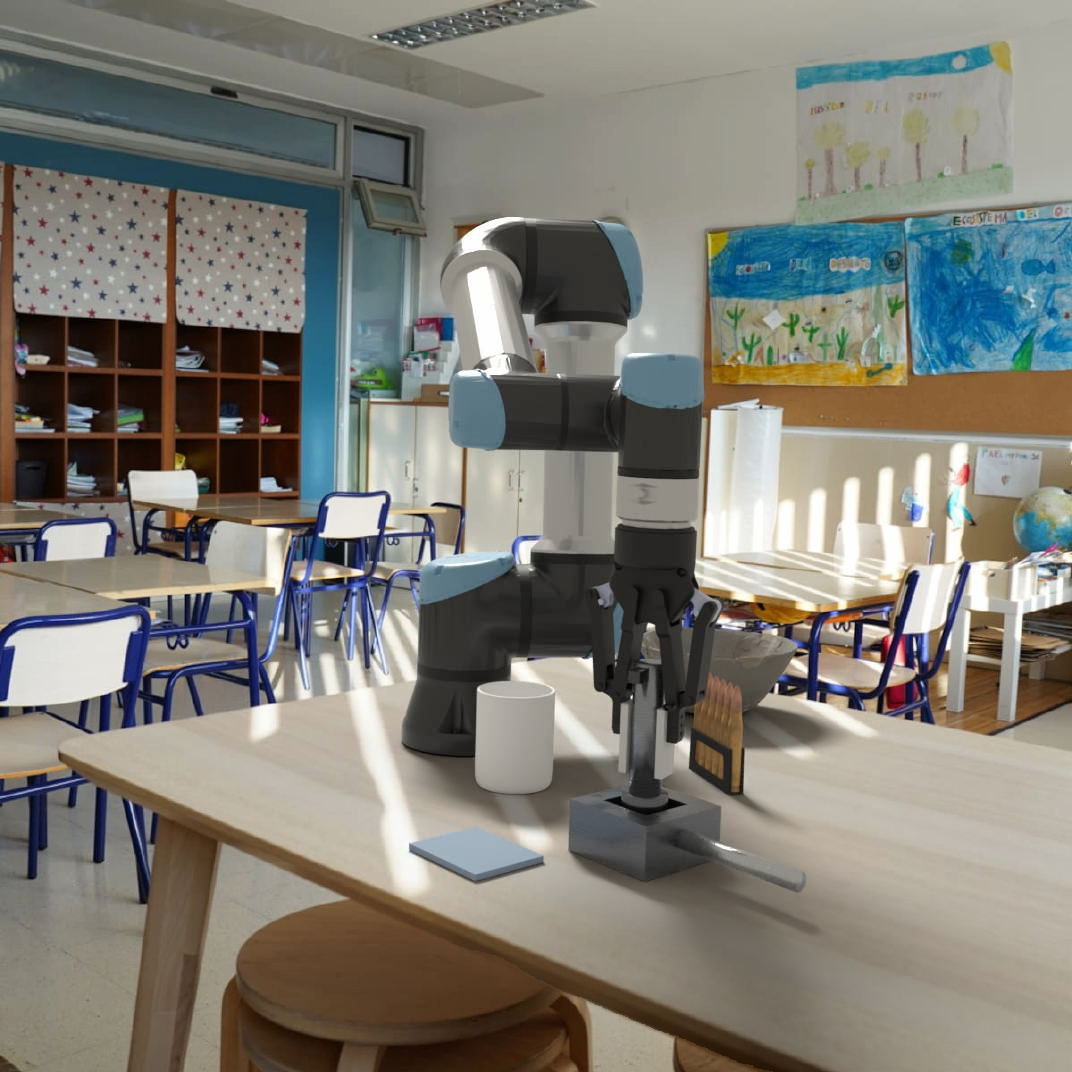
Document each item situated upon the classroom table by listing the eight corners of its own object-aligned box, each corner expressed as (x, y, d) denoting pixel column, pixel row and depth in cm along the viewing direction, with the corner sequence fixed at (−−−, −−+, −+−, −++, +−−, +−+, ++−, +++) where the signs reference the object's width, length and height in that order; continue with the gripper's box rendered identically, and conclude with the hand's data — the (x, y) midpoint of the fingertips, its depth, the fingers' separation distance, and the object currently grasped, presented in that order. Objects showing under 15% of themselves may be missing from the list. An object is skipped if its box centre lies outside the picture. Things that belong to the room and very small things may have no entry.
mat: (408, 849, 120) (409, 843, 120) (476, 832, 125) (476, 826, 125) (475, 881, 112) (475, 874, 112) (543, 861, 118) (543, 855, 117)
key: (638, 794, 124) (644, 653, 123) (680, 802, 122) (686, 658, 121) (606, 814, 118) (612, 665, 117) (650, 823, 116) (656, 672, 115)
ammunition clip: (744, 794, 140) (749, 687, 139) (728, 795, 140) (733, 687, 139) (702, 767, 150) (707, 667, 149) (688, 768, 150) (692, 667, 149)
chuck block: (568, 850, 121) (569, 798, 120) (642, 829, 127) (644, 780, 127) (759, 929, 104) (762, 869, 103) (833, 900, 110) (837, 844, 110)
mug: (521, 762, 150) (524, 672, 149) (565, 791, 139) (568, 695, 138) (453, 768, 147) (455, 677, 146) (491, 799, 136) (494, 700, 135)
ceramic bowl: (796, 699, 188) (799, 632, 187) (790, 737, 166) (794, 661, 165) (646, 687, 193) (649, 622, 192) (621, 723, 171) (624, 649, 170)
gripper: (559, 519, 118) (551, 767, 121) (724, 533, 110) (711, 797, 113) (595, 514, 124) (587, 749, 127) (753, 526, 117) (740, 776, 119)
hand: (645, 771), depth 120 cm, fingers closed on key, 3 cm apart
